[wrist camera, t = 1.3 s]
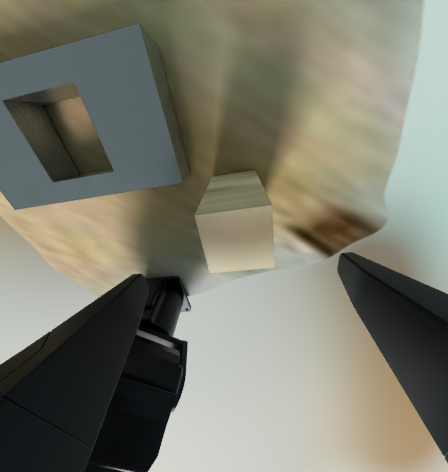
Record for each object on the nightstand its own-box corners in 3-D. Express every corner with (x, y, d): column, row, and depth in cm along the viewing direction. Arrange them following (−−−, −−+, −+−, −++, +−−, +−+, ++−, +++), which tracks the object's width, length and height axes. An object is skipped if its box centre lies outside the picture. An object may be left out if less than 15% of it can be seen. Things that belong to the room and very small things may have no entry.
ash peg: (258, 210, 19) (274, 267, 11) (219, 215, 19) (209, 273, 12) (254, 169, 17) (272, 205, 9) (212, 176, 17) (194, 215, 10)
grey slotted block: (190, 174, 17) (182, 182, 15) (44, 198, 19) (15, 209, 17) (158, 44, 13) (138, 23, 10) (-27, 93, 15) (-82, 85, 12)
